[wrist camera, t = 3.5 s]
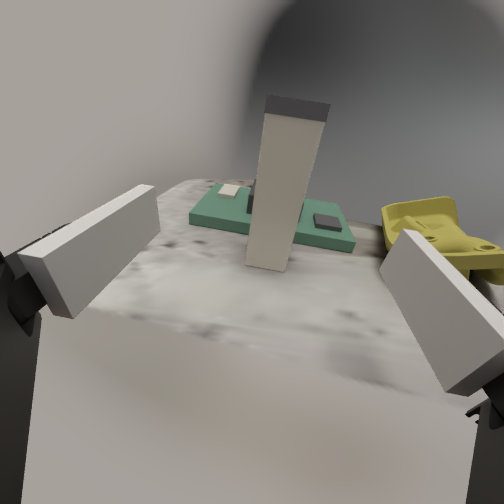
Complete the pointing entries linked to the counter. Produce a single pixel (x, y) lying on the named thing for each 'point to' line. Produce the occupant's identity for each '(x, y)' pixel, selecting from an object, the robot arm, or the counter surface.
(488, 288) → the counter surface
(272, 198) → the plug
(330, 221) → the board
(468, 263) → the plastic component
